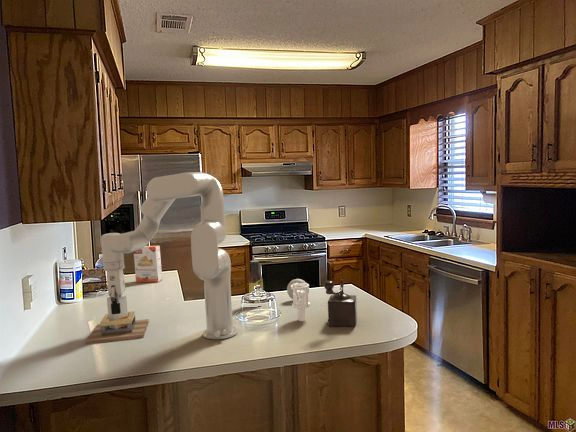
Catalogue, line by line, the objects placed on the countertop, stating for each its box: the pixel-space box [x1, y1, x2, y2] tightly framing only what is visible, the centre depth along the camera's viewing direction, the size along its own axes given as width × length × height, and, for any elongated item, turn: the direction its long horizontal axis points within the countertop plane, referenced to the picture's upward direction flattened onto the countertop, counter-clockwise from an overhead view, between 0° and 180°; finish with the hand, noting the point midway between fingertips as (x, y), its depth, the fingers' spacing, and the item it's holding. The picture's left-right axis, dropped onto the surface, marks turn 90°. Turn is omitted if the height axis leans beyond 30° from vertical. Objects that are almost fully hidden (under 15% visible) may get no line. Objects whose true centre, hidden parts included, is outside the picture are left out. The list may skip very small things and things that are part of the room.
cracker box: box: [133, 245, 163, 283], centre depth 273 cm, size 14×6×21 cm, turn 80°
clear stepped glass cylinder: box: [291, 282, 311, 322], centre depth 184 cm, size 7×7×15 cm
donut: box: [286, 278, 310, 300], centre depth 213 cm, size 10×3×10 cm, turn 86°
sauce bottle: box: [248, 259, 264, 294], centre depth 209 cm, size 6×6×20 cm
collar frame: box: [99, 311, 137, 335], centre depth 181 cm, size 11×11×5 cm
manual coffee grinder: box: [323, 279, 358, 328], centre depth 175 cm, size 16×11×18 cm
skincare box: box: [106, 294, 129, 329], centre depth 180 cm, size 6×4×12 cm
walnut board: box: [85, 318, 150, 345], centre depth 181 cm, size 20×20×1 cm
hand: (117, 310), depth 180 cm, fingers closed on skincare box, 7 cm apart
